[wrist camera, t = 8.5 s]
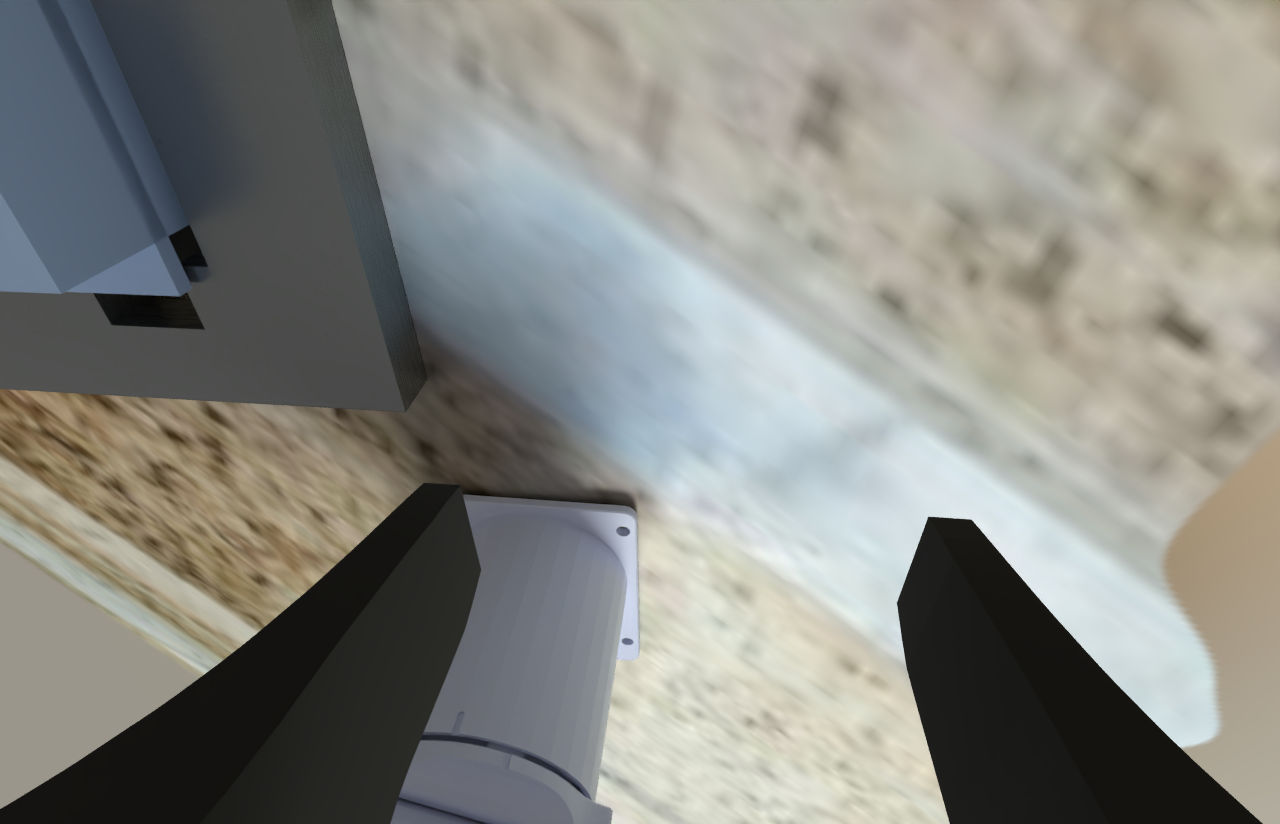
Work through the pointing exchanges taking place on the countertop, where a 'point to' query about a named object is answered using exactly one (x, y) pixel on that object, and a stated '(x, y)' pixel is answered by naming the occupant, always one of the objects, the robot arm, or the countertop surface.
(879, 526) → the countertop surface
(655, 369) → the countertop surface
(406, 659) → the robot arm
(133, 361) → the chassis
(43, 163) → the servo
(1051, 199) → the countertop surface
